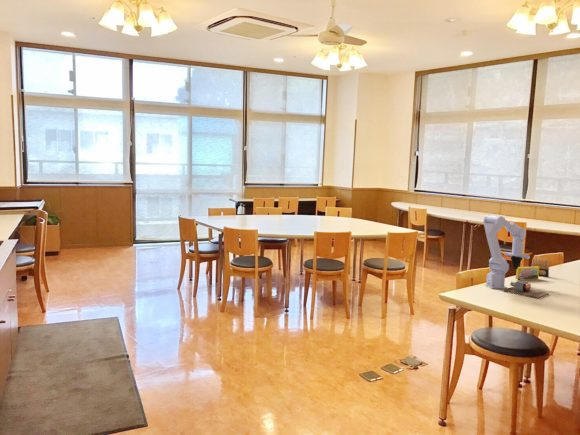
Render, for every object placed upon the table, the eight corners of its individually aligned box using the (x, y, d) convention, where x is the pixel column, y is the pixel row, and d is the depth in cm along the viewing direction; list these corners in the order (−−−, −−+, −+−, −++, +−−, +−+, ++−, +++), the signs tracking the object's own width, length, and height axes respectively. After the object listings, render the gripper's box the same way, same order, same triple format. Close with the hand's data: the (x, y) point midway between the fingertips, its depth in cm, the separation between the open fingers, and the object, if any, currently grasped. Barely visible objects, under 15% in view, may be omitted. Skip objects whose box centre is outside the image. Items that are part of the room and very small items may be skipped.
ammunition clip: (548, 276, 311) (550, 258, 310) (547, 277, 310) (549, 259, 309) (531, 274, 318) (532, 256, 317) (530, 274, 317) (531, 256, 316)
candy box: (517, 280, 300) (518, 267, 299) (515, 279, 302) (516, 267, 301) (538, 279, 304) (539, 266, 303) (536, 278, 306) (537, 266, 305)
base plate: (548, 294, 267) (548, 293, 267) (538, 299, 258) (538, 297, 258) (514, 287, 281) (514, 286, 281) (503, 291, 272) (503, 289, 272)
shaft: (530, 290, 270) (531, 283, 269) (527, 291, 267) (527, 284, 266) (512, 286, 277) (513, 279, 277) (509, 288, 274) (509, 280, 274)
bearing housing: (527, 290, 272) (528, 281, 271) (522, 292, 268) (523, 283, 267) (520, 288, 275) (520, 280, 275) (514, 290, 271) (515, 282, 270)
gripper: (532, 247, 285) (530, 270, 286) (508, 244, 296) (507, 265, 297) (527, 249, 280) (525, 271, 282) (503, 245, 291) (501, 267, 293)
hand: (515, 268), depth 289 cm, fingers closed
